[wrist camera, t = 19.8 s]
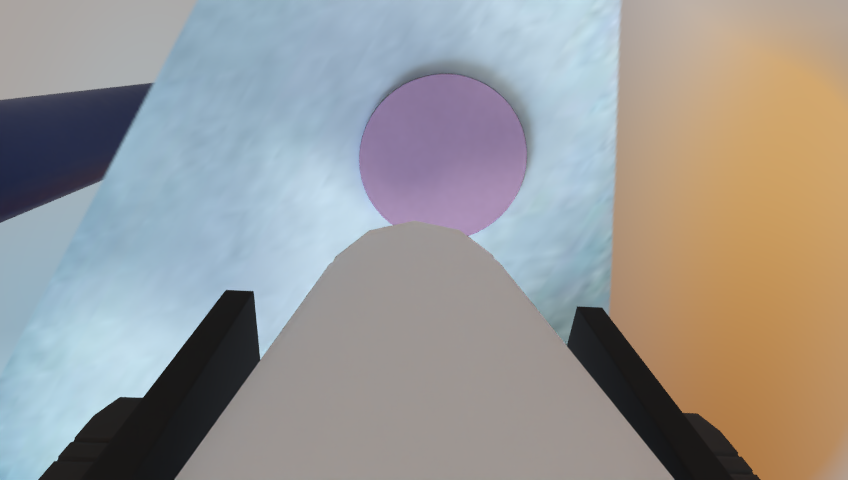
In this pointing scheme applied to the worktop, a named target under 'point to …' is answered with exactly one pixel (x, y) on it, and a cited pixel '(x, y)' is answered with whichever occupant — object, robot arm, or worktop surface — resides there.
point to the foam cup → (420, 380)
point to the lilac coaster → (443, 154)
